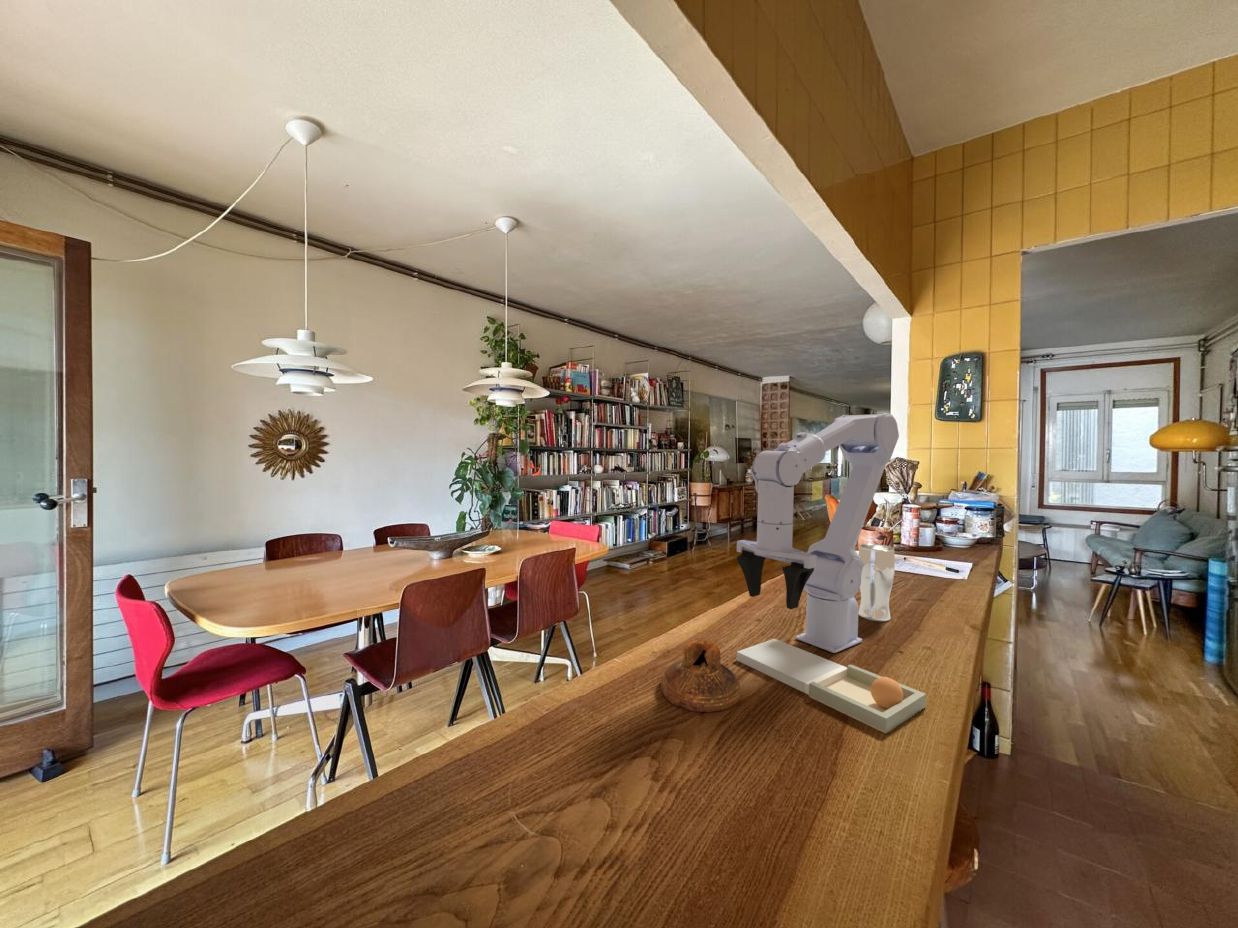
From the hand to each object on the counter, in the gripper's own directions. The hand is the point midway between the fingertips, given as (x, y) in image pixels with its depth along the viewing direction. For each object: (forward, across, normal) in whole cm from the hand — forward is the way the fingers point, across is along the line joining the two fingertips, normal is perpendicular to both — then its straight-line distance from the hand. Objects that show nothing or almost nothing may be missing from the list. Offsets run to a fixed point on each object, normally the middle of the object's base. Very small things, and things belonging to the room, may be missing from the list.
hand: (772, 601), depth 84 cm
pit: (+10, +17, -1) cm, 19 cm away
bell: (+10, +1, -18) cm, 21 cm away
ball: (+8, +19, 0) cm, 21 cm away
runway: (+10, +4, 0) cm, 11 cm away
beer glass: (+10, 0, +36) cm, 37 cm away
